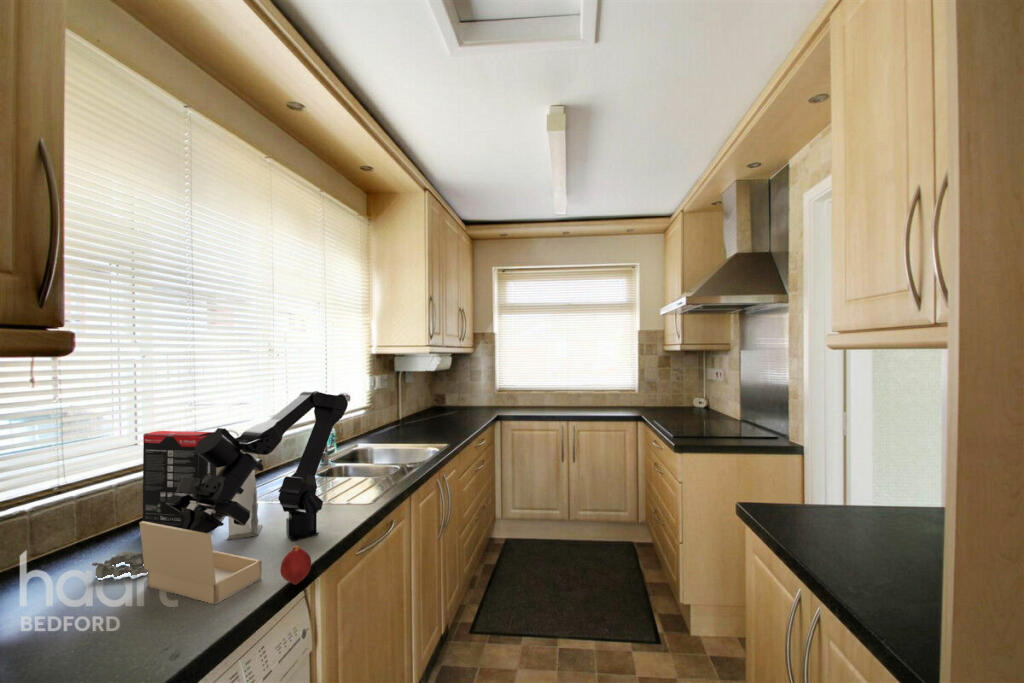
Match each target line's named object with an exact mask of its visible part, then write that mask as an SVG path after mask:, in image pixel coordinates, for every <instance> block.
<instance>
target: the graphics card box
mask: <svg viewBox="0 0 1024 683" xmlns="http://www.w3.org/2000/svg"><path fill="white" fill-rule="evenodd" d="M213 432H214V431H189V430H188V431H187V430H186V431H185V430H184V431H180V430H157V431H151V432H145V433H143V435H142V436H143V438H142V439H143V440H142V444H143V448H142V449H143V450H142V453H143V455H142V457H143V458H142V462H143V463H142V521H145V522H150V523H155V524H161V525H166V526H171V527H176V528H182V529H183V526H184V522H185V515H184V514H182V513H180V512H179V511H177V510H175V509H174V508H172V507H171V506H169V505H167V504H166V502H167V501H168V499H169V498H170V497H171V496H172V495H173V494H176V493H179V492H176V491H177V488H178V486H179V484H180V482H181V479H182V477H183V476H184V477H191V478H198V479H203V478H204V477H205V476H206V475H214V476H216V475H217V468H216V467H214V466H213V465H211V464H210V463H209V462H208V461H206V460H205V459H204V458H202V457H201V456H200V455H198V454H197V453H196V452H195V447H196V445H197V443H198V442H199V441H200V440H201V439H203V438H204V437H205V436H207V435H208V434H210V433H213ZM181 493H183V494H186V493H185V492H181ZM189 495H191V496H192V494H189ZM192 497H193V496H192ZM195 499H196V498H195ZM197 500H198V499H197ZM198 501H199V500H198ZM204 508H206V507H204Z"/></svg>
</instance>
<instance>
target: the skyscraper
mask: <svg viewBox="0 0 1024 683" xmlns="http://www.w3.org/2000/svg"><path fill="white" fill-rule="evenodd" d="M226 430H227V431H228V432H229V433H230V432H231V433H233V434H235V435H236V437H238V436H241V434H242V433H238V432H237V431H235V430H233V429H226ZM240 451H241V452H242V450H240ZM242 453H244V452H242ZM248 454H250V453H248ZM250 455H251V456H253V457H254V458H256V459H258V456H259V454H250ZM255 473H256V470H253V471H252V473H251V474H250V475H249V477H248V478H247V480H246V481H245V482H244V484H243V485H242V487H241V488H242V489H243V490H244V491H243V492H242V494H236V495H235V497H234V498H233V499H232V501H236V502H238V503H239V504H241V505H242V506H243V507H245V508H246V509H247V510H249V511H250V518H249V520H248V521H247V523H246V524H245V526H242V525H237V524H234V519H233V518H231V517H228V516H227V517H228V536H227V541H231V539H232V540H239V539H244V537H246V538H251V537H250V536H253V537H258V536H259V534H260V533H259V532H261V530H262V528H263V524H259V518H258V517H259V516H258V512H259V511H258V510H259V502H258V488H257V481H256V480H257V479H256V477H255V476H256V475H255ZM257 535H258V536H257ZM238 538H239V539H238Z"/></svg>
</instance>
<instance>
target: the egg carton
mask: <svg viewBox="0 0 1024 683" xmlns="http://www.w3.org/2000/svg"><path fill="white" fill-rule="evenodd" d="M121 562H125V564H130V567H129V566H126V568H125V567H123V568H120V569H118V568H116V564H119V563H121ZM143 564H144V560H143V551H138V552H137V551H136V552H134V551H123V552H121V553H118V554H116V555H115V556H111V558H110V559H109V560H107V559H106V560H105V561H104V563H101V562H92V564H91V566H94V567H96V568H95V576H97V578H103V577H105V576H107V575H112V574H113V575H114V577H117V576H120V575H122V574H124V573H128V572H130V573H131V576H132V575H137V574H140V573H147V572H148V570H146V569H144V566H143ZM112 565H114V566H112Z"/></svg>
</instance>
